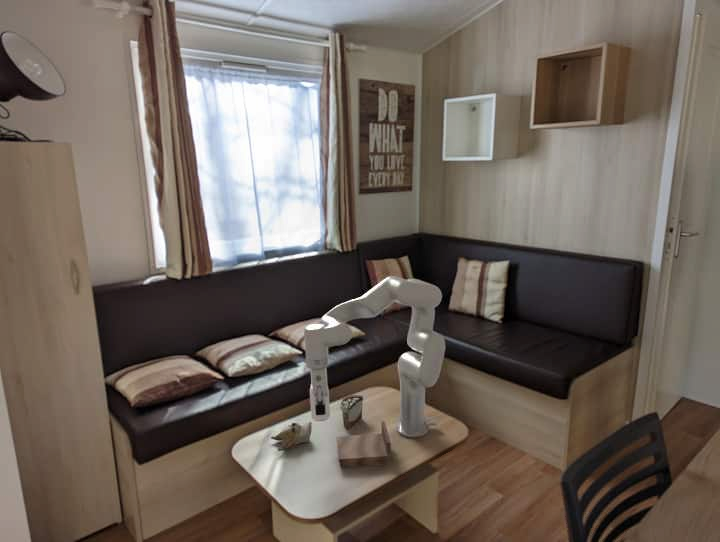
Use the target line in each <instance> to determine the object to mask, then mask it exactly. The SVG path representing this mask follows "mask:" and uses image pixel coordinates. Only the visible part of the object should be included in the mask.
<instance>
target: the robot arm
mask: <svg viewBox="0 0 720 542" xmlns="http://www.w3.org/2000/svg"><path fill="white" fill-rule="evenodd" d="M442 298H443V294H442V291H441V290H440V288H439V287H438V286H436V285H434V284H432V283H429V282H426V281H424V280H421V279H417V278H408V279H404V278H403V277H399V276H396V275H390V276H387V277H386V278H384V279H382V280H381V281H380V282H378V284H376V285H375V286H373V287H372V288H371V289H369V290H368V291H367V292H366V293H364V294H362V296H360V297H357V298H355V299H350V300H348V301H346V302H342V303H340V304H338V305H336V306H335V307H333V308H332V309H331V310H329V311H328V312H326V313H325V314H324V315H323V316H322V317H321V318H320V319H319V321H318V323H313V324H309V325H307V326H306V327H305V328H304V331H303V333H304V347H305V348H304V349H305V363H306V366H305V367H307V368H308V369H309V370H310V380H311V381H310V383H311V384H312V390H313V396H314V397H316V404H315V408H316V415H325V403H324V396H327V395H328V389H329V386H328V373H327V371H328V370H327V368H328V367H329V366H330V363H329V362H330V361H329V347H332V346H333V347H335V346H342V345H345V344H347V343H348V342H350V340H351V339H352V336H353V331H352V328H351V327H350V326H349V325H348V324H347V322H349V321H353V320H357V319H370V318H375V317H377V316H378V315H379V314H380V313H382V312H383V311H384V310H385V309H387V308H388V307H390V306H391V305H392V304H394V303H398V304H400V305H403V306H406V307H410V308H411V317H410V323H409V328H408V332H407V337H406V338H407V339H406V342H407V345H408V347H409V348H411V349H412V350H414V351H406V352H404V353H402V354H401V355H400V356H399V358H398V361H397V372H398V375H399V386H400V388H399V421H397V423H396V426H395V430H396V432H397V433H398V434H399V435H401V436H403V437H405V438H411V439H412V438H413V439H414V438H421V437H424V436H425V435H427V434H428V432H429V426H437V425H438V424H437V423H438V421H437V419H433V418H432V417H425V415H426V414H425V413H426V412H425V410H426V409H425V406H426V398H425V397H426V388H431V387H433V386H434V385H435V384H436V383H437V381H438V379H439V378H440V375H441V374H440V373H441V371H442V370H441V369H442V367H443V366H442V365H443V361H444V356H445V352H446V341H445V338H444V336H442V335H441V334H440V333H438V332H437V331H434V330H433V329H434V324H435V316H436V315H435V314H436V310H435V308H437V307H438V306H439V305H440V303H441V302H442ZM419 353H420V354H419ZM327 386H328V387H327ZM316 393H318V395H316ZM321 393H322V395H321ZM317 397H318V400H317ZM321 397H322V399H321Z"/></svg>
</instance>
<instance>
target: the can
mask: <svg viewBox="0 0 720 542" xmlns="http://www.w3.org/2000/svg"><path fill="white" fill-rule="evenodd" d="M327 387H328V395H327V396H324V403H325V415H316V408H315V404H316V397H314V396H313V390H312V383H311V384H310V388H309V403H310V404H309V405H310V414H311V415H310V416H311V419H312V420H313V421H315V422H325V421H327V420H329V418H330V417H331V411H330V410H331V407H330V406H331V405H330V392H329V391H330V390H329V386H328V385H327ZM316 395H318V393H316ZM321 395H322V393H321ZM321 399H322V397H321ZM317 400H318V397H317Z"/></svg>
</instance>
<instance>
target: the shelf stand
mask: <svg viewBox="0 0 720 542" xmlns="http://www.w3.org/2000/svg"><path fill="white" fill-rule="evenodd" d="M380 424H381V433H373V434H371V433H370V434H358V435H357V434H356V435H354V434H353V435H343V436H341V435H339V436H336V448H337V456H338V458H337V459H338V463H339V468H340V469H343V468H354V467H355V468H356V467H365V466H367V467H368V466H370V467H371V466H380V465H381V466H382V465H383V466H384V465H387V460H391V459H392V456H391V454H392V453H391V452H392V451H391V450H392V449H391V448H392V447H391V443H392V442H391V439H390V436H389V433H388V428H387V425H386V421H384V420H383V421H381V423H380Z"/></svg>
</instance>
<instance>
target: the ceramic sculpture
mask: <svg viewBox="0 0 720 542" xmlns="http://www.w3.org/2000/svg"><path fill="white" fill-rule="evenodd" d="M311 434H312V421H308V422H304V423H302V424H299V423H298V422H292V423H291V424H289V425H288V426H285V427H284V428H283V429H282V430H281V432H279V433H278V434H276V435H275V436H271V437H270V439H272V440H275V441H278V442H280V441H282V443H281V444H280V447H279V448H278V449H277V451H279V452H280V451H282V452H285V451H289V450H290V449H292V448H293V447H294V446H297V445H298V444H300V443H302V442H305V443H309V442H310V439H311Z"/></svg>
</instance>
